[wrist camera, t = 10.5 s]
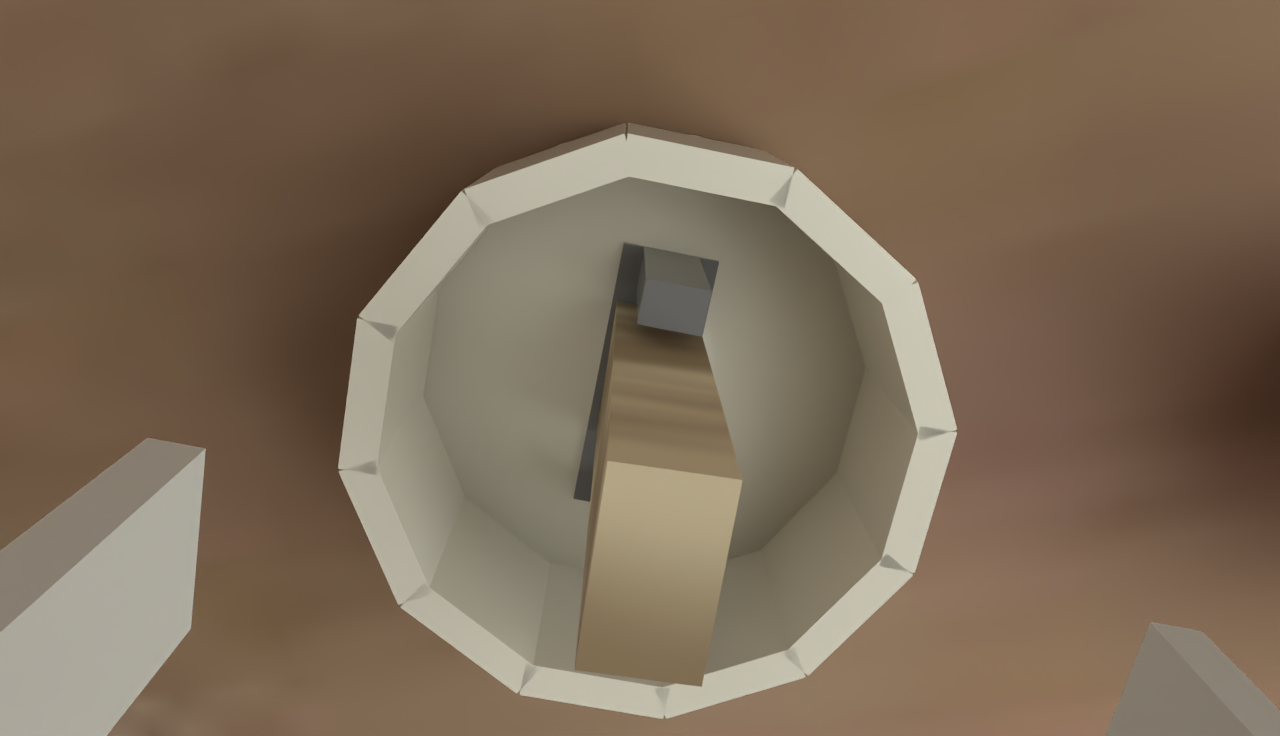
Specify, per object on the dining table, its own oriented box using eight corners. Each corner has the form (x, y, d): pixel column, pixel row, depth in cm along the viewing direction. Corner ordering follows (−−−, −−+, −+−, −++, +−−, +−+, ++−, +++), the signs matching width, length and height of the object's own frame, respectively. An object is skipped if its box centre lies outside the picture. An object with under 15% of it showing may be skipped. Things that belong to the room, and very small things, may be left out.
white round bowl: (440, 82, 25) (387, 83, 19) (940, 185, 25) (1023, 214, 20) (374, 548, 28) (312, 660, 23) (817, 626, 29) (860, 752, 23)
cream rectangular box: (616, 301, 25) (607, 460, 15) (695, 313, 26) (743, 479, 15) (596, 432, 26) (574, 669, 16) (673, 443, 26) (701, 686, 16)
